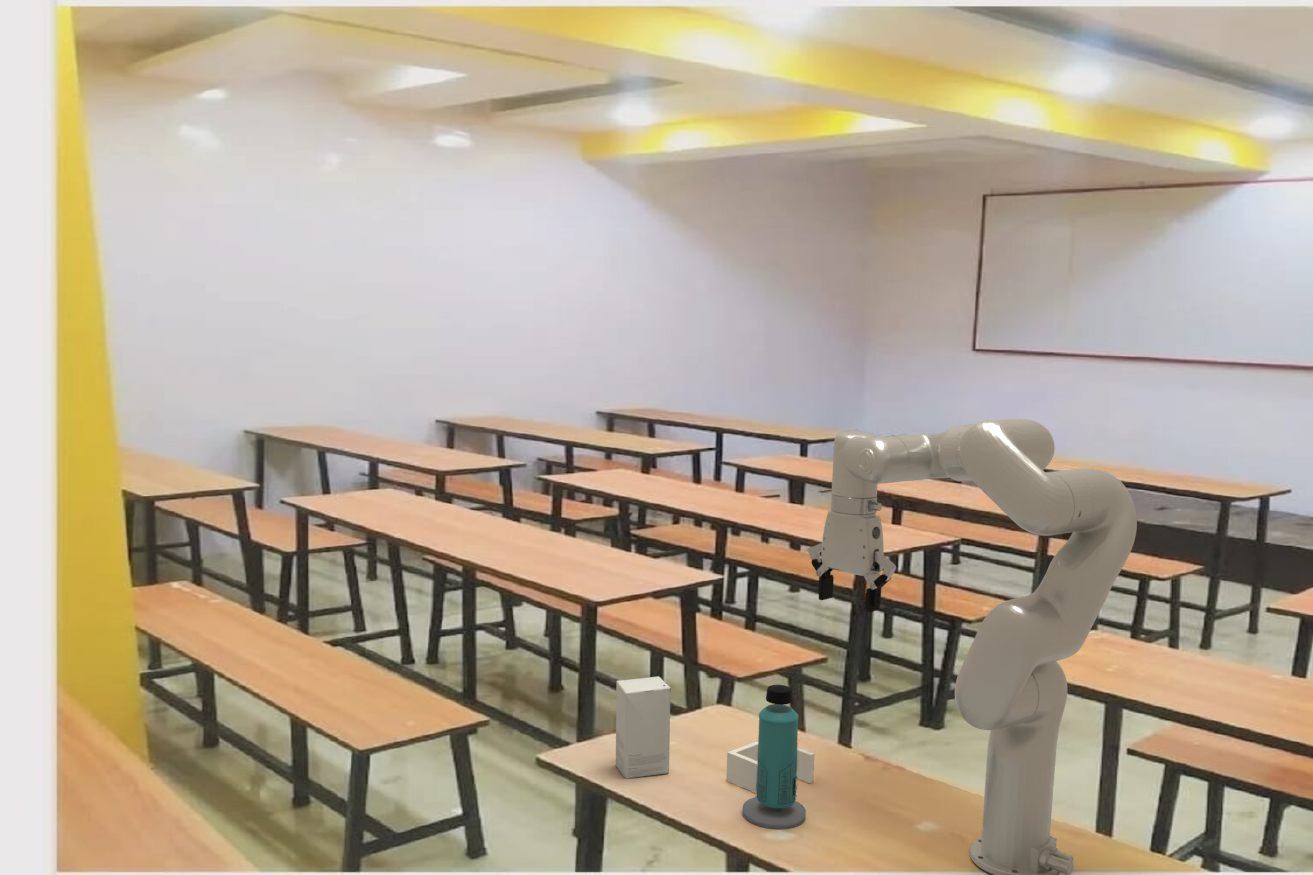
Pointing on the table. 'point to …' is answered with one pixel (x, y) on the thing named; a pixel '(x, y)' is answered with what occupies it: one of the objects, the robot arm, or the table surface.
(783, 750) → the beverage bottle
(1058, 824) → the table surface
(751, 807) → the pad
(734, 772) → the white u-shaped bracket
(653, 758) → the skincare box
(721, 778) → the table surface
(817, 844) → the table surface
